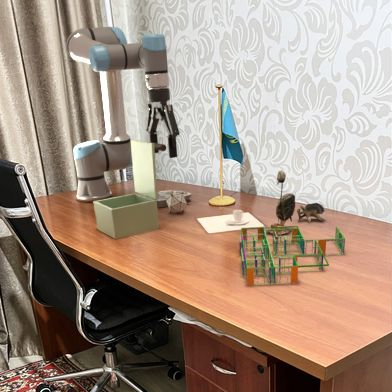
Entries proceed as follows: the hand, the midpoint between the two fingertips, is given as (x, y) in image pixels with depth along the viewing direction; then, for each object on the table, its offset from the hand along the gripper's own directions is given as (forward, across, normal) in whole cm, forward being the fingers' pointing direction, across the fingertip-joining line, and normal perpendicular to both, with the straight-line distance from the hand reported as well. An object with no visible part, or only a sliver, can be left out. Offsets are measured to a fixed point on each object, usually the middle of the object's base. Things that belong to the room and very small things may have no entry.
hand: (163, 155), depth 182 cm
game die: (+23, -5, +6) cm, 24 cm away
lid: (+3, +1, -9) cm, 10 cm away
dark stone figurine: (+22, +41, +20) cm, 51 cm away
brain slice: (+23, -23, +11) cm, 34 cm away
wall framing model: (+22, +64, +5) cm, 68 cm away
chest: (+22, +1, -18) cm, 29 cm away
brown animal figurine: (+22, +39, +34) cm, 57 cm away
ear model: (+23, +20, +13) cm, 33 cm away
